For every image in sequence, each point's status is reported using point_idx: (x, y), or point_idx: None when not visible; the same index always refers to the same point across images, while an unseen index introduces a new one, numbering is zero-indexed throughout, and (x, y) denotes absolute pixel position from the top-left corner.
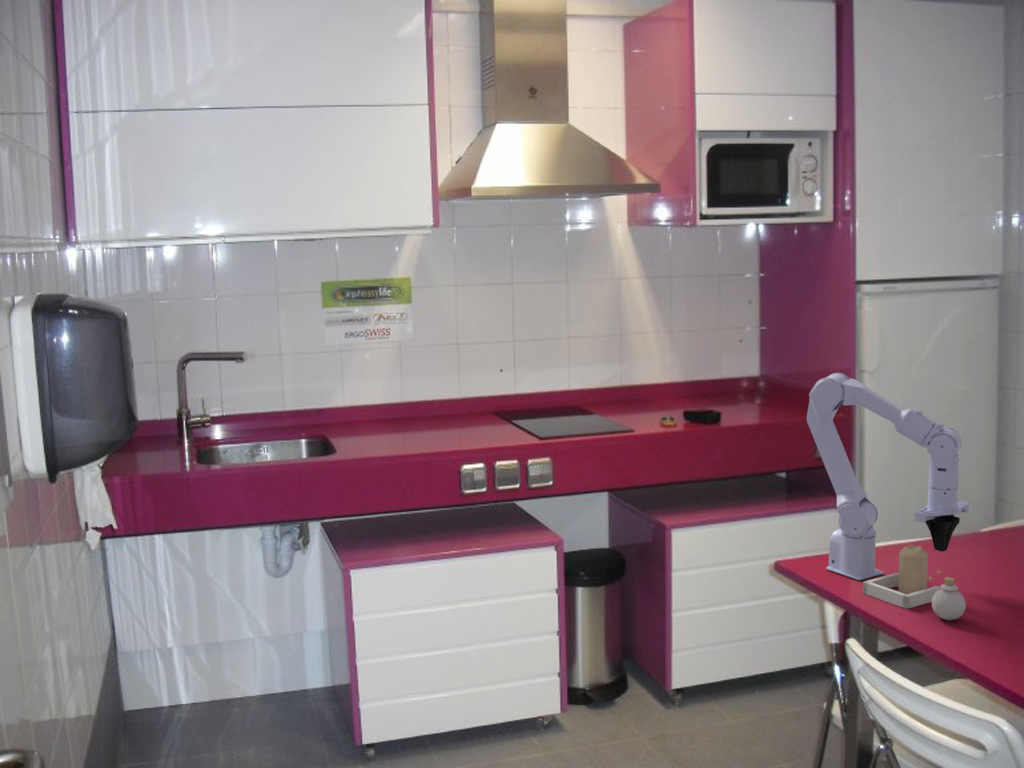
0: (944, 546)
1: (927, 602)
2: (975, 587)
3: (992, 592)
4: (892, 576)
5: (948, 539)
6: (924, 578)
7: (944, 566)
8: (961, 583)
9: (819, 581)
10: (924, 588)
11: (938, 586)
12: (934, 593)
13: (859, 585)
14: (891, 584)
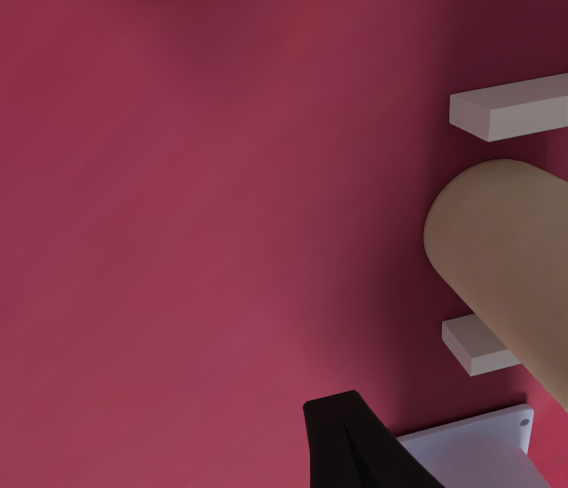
0: (364, 419)
1: (554, 75)
2: (113, 169)
3: (67, 46)
4: None
5: (345, 478)
6: (557, 196)
7: (50, 465)
8: (145, 252)
9: None
10: (511, 175)
11: (488, 127)
12: (527, 92)
13: None
14: None
